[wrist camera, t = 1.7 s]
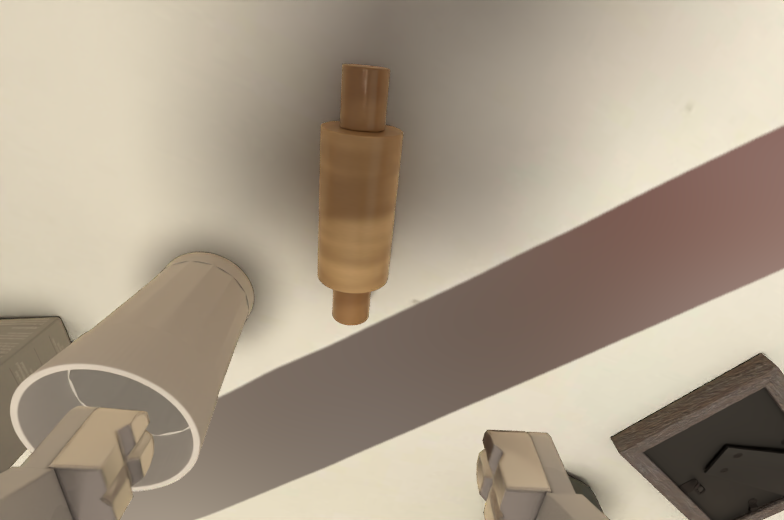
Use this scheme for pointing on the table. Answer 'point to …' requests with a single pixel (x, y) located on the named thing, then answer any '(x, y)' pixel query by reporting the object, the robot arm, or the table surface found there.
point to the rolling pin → (357, 193)
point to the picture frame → (717, 446)
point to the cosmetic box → (23, 369)
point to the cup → (149, 363)
